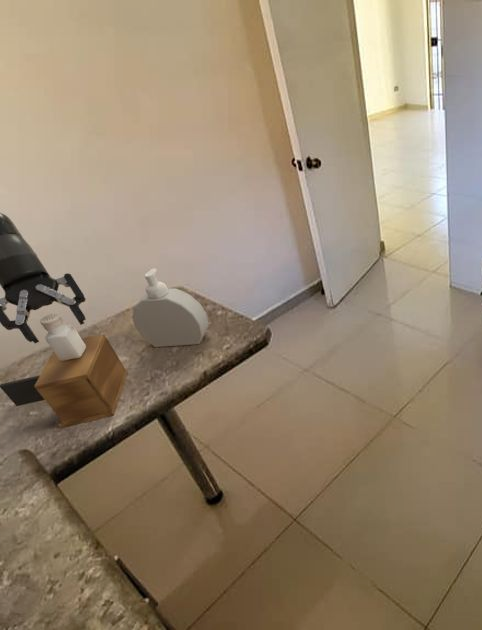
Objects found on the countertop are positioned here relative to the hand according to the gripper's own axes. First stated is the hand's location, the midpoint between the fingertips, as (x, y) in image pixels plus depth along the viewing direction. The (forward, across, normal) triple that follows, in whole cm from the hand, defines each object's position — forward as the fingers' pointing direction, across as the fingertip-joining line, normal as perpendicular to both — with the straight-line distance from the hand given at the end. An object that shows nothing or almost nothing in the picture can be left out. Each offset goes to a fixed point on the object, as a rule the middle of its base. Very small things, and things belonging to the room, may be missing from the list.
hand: (59, 332), depth 86 cm
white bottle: (+4, 0, +6) cm, 7 cm away
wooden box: (+12, -1, +14) cm, 19 cm away
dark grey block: (+10, -10, +15) cm, 21 cm away
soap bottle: (+8, +20, +19) cm, 29 cm away
